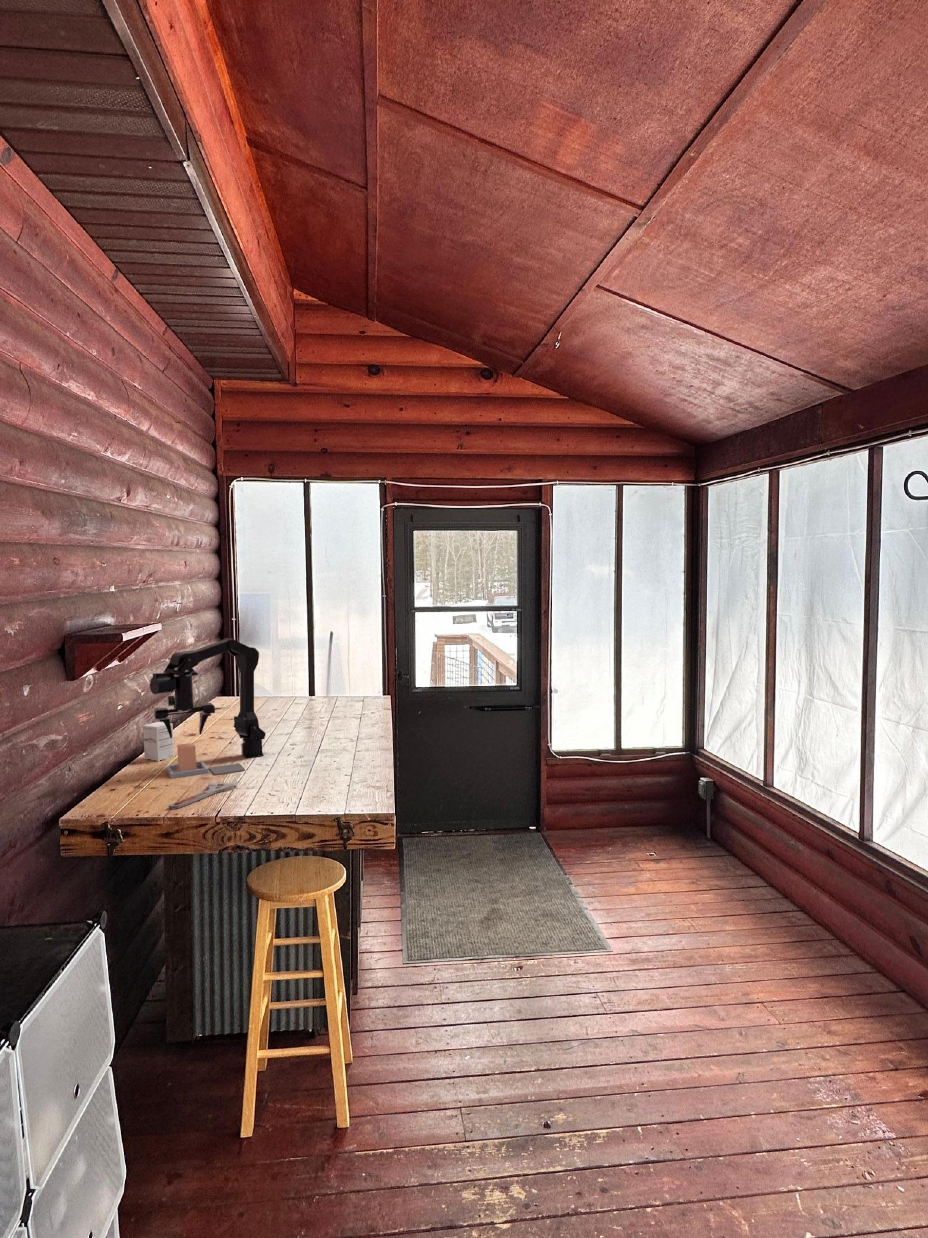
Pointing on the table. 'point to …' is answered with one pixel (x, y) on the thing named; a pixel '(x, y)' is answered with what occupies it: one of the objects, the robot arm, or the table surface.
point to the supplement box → (157, 741)
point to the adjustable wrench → (205, 793)
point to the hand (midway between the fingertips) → (185, 736)
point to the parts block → (186, 757)
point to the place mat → (226, 769)
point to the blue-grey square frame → (187, 773)
